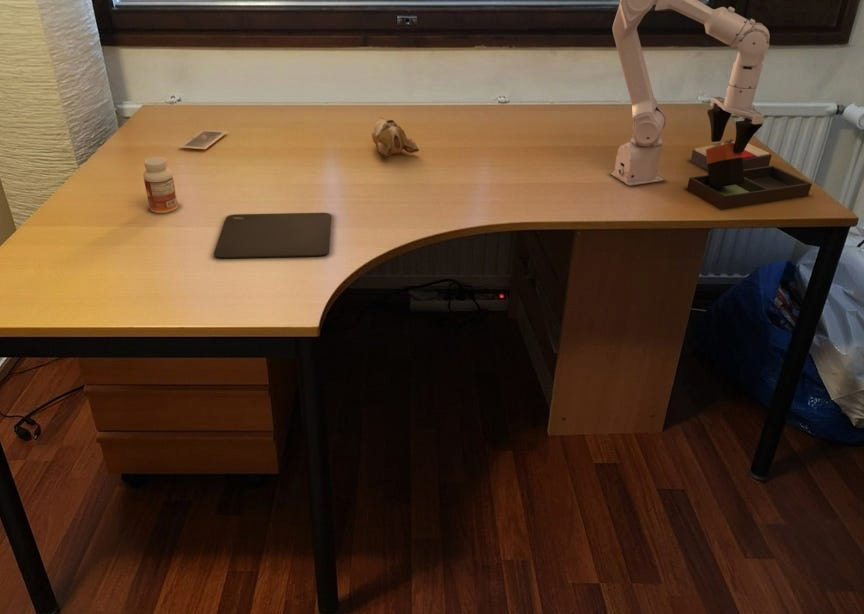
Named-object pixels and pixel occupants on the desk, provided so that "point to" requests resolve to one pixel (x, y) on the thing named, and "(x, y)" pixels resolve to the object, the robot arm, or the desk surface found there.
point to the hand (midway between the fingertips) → (726, 146)
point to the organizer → (751, 188)
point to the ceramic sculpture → (391, 138)
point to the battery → (724, 165)
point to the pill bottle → (159, 185)
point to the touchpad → (203, 139)
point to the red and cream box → (750, 157)
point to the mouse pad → (274, 235)
